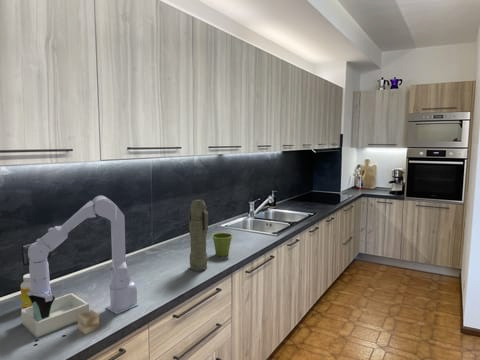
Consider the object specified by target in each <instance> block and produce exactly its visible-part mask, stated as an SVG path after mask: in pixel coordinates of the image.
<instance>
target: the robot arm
mask: <svg viewBox="0 0 480 360" xmlns="http://www.w3.org/2000/svg"><path fill="white" fill-rule="evenodd" d="M96 215H97V216H100V217H102V218H106V219H107V220H108V221H110V232H111V233H110V234H111V263H110V269H109V272H108V276H109V278H110V280H111V282H110V284H109V298H110V299H109V300H110V302H109V303H110V304H109V305H106V306H105V308H106V309H107V310H109V311H111V312H112V313H114V314H116V315H118V314H121V313H123V312H125V311H127V310H130V309H133V308H135V307H138V306H139V303H138V292H137V291H138V289H137V285H136V284H135V282H134V281H131V276H130V274H129V272H128V265H127V262H126V261H127V260H126V225H125V224H126V221H125V214H124V213H123V212H122V210H121V209H120V208H119V206H118V205H116V203H114V202H113V201H112V200H111V199H110V198H108V197H106V196H105V195H97V196H95V197H94V198H93V199H91V200H89V201H88V202H87V203H85V204H84V205H83V206H82V207H81V208H79V210H78V211H76V212H75V213H74V214H73V215H71V217H69V219H67V220H66V221H65V222H64V223H63V224H62V225H59V226H58V225H55V226H54V227H49V228H48V230H47V231H48V232H47V233H45V234H44V235H42V236H41V237H40V238H37V239H36V241H35V242H33V243H31V244H30V245H29V246H28V250H27V256H28V259H29V260H28V263H29V266H28V269H29V270H28V271H29V273H30V292H27V296H28V297H29V298H30V300H31V302H32V304H33V302H36V303H37V305H38V307H39V310H40V315H41V318H42V319H44V318H46V317H49V314H50V309H51V305H52V303H53V301H54V299H55V296H54V295H53V294H52V291H51V290H52V289H51V288H52V287H51V284H50V281H51V280H50V268H49V261H48V256H49V254H50V252H53V251H54V250H55V249H56V248H57V247H58V246H60V245H61V244H62V243H63V242H64V241H65V240H66V239H68V234H69V233H70V232H71V231H72V230H74V229H75V228H76V227H77V226H78V225H80V224H82V222H84V221H85V220H86V219H90V218H96V217H97V216H96Z"/></svg>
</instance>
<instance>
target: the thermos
mask: <svg viewBox="0 0 480 360" xmlns="http://www.w3.org/2000/svg"><path fill="white" fill-rule="evenodd" d="M206 208H207V206H206V203H205V200H203V199H196V198H195V199H193V200H191V203H190V208H189V210H188V228H189V236H190V253H189V269H190V270H191V271H193V272H203V271H206V270H207V269H208V252H207V235H208V230H209V212H208V211H207V209H206Z"/></svg>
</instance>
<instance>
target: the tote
mask: <svg viewBox="0 0 480 360" xmlns="http://www.w3.org/2000/svg"><path fill="white" fill-rule="evenodd" d="M87 311H90V303H89V302H86V301H85V300H84V299H82V298H81V297H79V296H78V295H76V294H75V293H73V292H71V293H68V294H65V295H64V294H63V296H62V295H61V296H59V297H56V298H55V299H54V301H53V303H52V305H51V309H50V317H49V318H46V319H44V320H41V321H38V322H37V321H36V320H35V319H34V318H33V306H31V307H28V308H25V309H22V308H21V310H20V317H21V319H20V320H21V324H22V325H23V326H24V327H25V328H26V329H27V330H28V331H29V332H30V333H31V334H32V335H33V336H34V337H35V338H37V339H38V338H41V337H43V336H46V335H48V334H50V333H53V332H55V331H57V330H60V329H63V328H65V327H68V326H70V325H72V324H75V323H78V315H79V314H82V313H85V312H87Z"/></svg>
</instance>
